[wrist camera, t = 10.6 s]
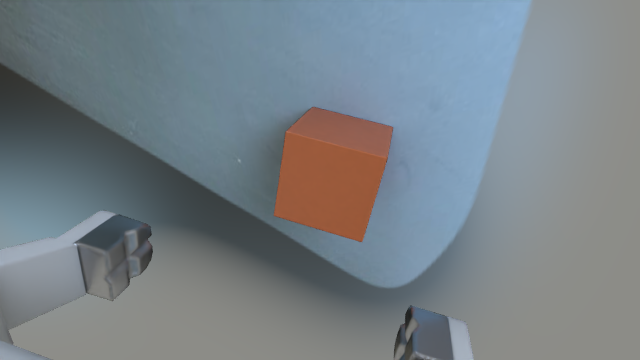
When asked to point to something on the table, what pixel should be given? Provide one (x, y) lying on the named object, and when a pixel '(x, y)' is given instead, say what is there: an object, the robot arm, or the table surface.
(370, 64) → the table surface
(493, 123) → the table surface
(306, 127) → the block
